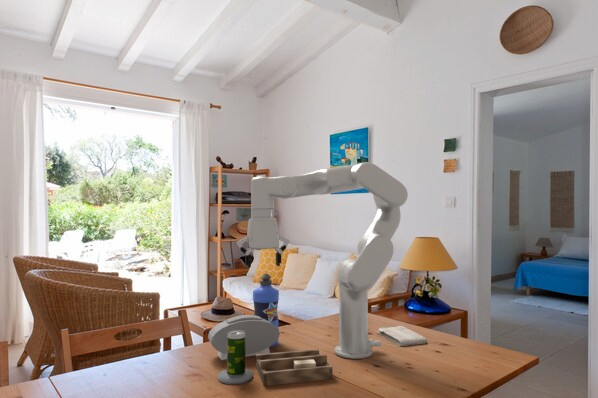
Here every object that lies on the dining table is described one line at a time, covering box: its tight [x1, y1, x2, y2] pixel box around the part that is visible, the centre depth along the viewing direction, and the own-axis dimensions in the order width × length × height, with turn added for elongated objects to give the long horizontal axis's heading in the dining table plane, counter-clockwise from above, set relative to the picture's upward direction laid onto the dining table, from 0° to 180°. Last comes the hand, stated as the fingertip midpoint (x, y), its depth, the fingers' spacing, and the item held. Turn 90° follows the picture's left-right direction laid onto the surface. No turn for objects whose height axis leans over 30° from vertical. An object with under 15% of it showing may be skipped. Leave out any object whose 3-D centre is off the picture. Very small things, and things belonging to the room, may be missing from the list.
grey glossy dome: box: [217, 368, 254, 385], centre depth 126 cm, size 10×10×1 cm
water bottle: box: [252, 273, 280, 348], centre depth 157 cm, size 9×9×25 cm
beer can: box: [226, 330, 247, 378], centre depth 126 cm, size 5×5×12 cm
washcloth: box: [376, 325, 428, 347], centre depth 163 cm, size 12×18×3 cm, turn 19°
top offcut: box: [294, 359, 316, 369], centre depth 126 cm, size 6×3×2 cm, turn 99°
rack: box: [255, 348, 333, 387], centre depth 129 cm, size 20×14×5 cm
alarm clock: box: [207, 314, 281, 361], centre depth 145 cm, size 23×6×13 cm, turn 113°
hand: (263, 266), depth 143 cm, fingers open, 9 cm apart
